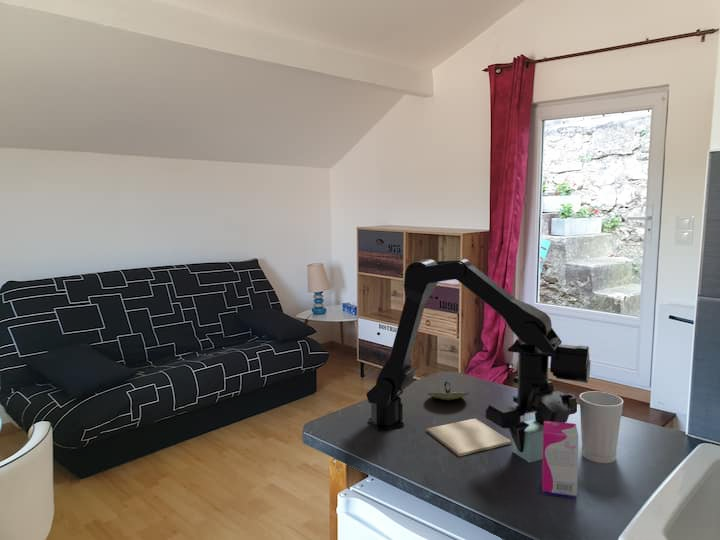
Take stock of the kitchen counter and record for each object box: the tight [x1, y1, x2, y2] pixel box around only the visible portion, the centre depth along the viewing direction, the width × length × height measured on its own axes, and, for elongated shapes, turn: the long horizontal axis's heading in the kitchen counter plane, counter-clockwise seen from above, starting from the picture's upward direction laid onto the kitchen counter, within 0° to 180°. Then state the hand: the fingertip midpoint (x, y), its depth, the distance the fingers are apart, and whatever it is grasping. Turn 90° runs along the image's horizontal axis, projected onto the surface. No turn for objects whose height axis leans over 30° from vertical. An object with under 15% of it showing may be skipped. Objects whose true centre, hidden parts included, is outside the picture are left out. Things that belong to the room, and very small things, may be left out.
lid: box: [427, 381, 470, 401], centre depth 137 cm, size 11×10×5 cm
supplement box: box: [541, 421, 579, 500], centre depth 95 cm, size 6×6×12 cm
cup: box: [579, 390, 624, 464], centre depth 107 cm, size 8×8×12 cm
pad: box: [426, 417, 512, 457], centre depth 117 cm, size 13×13×1 cm
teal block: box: [512, 419, 543, 463], centre depth 108 cm, size 5×5×6 cm
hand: (530, 448), depth 108 cm, fingers closed on teal block, 5 cm apart
